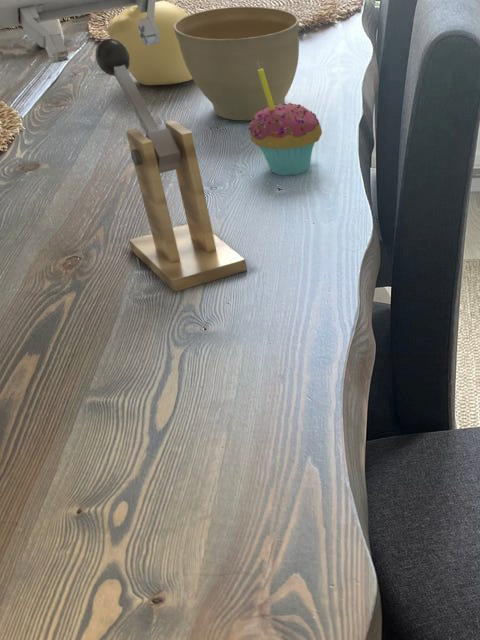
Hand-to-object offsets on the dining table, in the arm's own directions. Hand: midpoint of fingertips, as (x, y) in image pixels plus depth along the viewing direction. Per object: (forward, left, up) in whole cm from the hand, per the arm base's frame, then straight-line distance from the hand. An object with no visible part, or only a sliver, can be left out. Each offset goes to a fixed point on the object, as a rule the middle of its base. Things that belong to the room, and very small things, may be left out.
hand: (107, 49), depth 99 cm
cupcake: (+14, +17, -18) cm, 28 cm away
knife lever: (+2, -4, -5) cm, 7 cm away
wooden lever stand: (+5, -8, -18) cm, 20 cm away
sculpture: (-7, +54, -18) cm, 57 cm away
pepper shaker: (-29, +76, -18) cm, 83 cm away
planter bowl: (+7, +39, -18) cm, 43 cm away
